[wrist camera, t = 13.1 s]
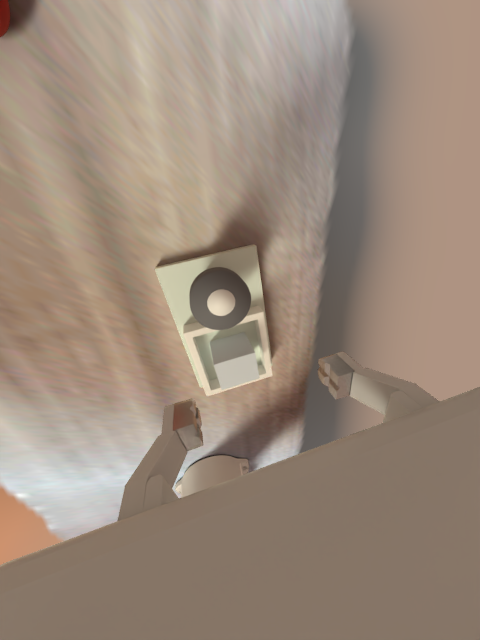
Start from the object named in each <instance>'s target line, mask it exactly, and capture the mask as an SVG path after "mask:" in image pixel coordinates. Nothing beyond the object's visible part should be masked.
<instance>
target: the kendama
mask: <svg viewBox="0 0 480 640" xmlns="http://www.w3.org/2000/svg"><path fill="white" fill-rule="evenodd" d="M9 23H10V9H9V3H8V0H0V37H2V36H3V35H4V34H5V33H6V31H7V30H8V27H9Z"/></svg>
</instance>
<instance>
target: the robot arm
mask: <svg viewBox="0 0 480 640" xmlns="http://www.w3.org/2000/svg"><path fill="white" fill-rule="evenodd" d="M318 364H319V366H320V368H319V369H318V376H319V379H320V380H321V382H322V383H323V385H325V386H327V387H329V392H330V393H331V394H332V395H333V397H334V398H335V399H336V400H337V399H340V398H343V397H346V396H350V397H352V398H354V399H356V400H358V401H360V402H361V403H363V404H365V405H367V406H369V407H371V408H373V409H375V410H376V411H378V412H380V413H382V414H384V415H385V417H384V420H383V423H381V424H379V425H376V426H373V427H371V428H368V429H365V430H363V431H360V432H357V433H355V434H352V435H349V436H347V437H344V438H341V439H339V440H336V441H333V442H330V443H328V444H325V445H322V446H319V447H317V448H314V449H311V450H309V451H306V452H303V453H301V454H298V455H295V456H292V457H290V458H287V459H284V460H282V461H279V462H276V463H274V464H271V465H268V466H266V467H263V468H260V469H258V470H255V471H252V472H250V473H248V467H249V463H248V459H237V458H234V457H231V456H226V455H219V456H212V457H208V458H205V459H203V460H200V461H198V462H196V463H195V464H193V465H192V466H191V467H189V468H188V469H187V471H186V472H185V474H184V476H183V478H182V479H181V480H180V481H178V482H177V483H176V485H175V490H176V491H177V492H178V493H180V494H181V498H180V499H179V498H178V497H177V495H176V494H175V492H174V491H173V490H172V487H173V485H174V482H175V480H176V478H177V475H178V473H179V471H180V468H181V466H182V464H183V461H184V459H185V457H186V454H187V451H189V450H192V449H195V448H197V447H200V446H203V436H202V431H201V429H200V428H201V426H202V424H201V417H200V413H199V410H198V408H197V407H196V402H195V400H194V398H192V399H189V400H185V401H182V402H178V403H175V404H172V405H168V406H165V408H164V415H163V425H162V434H161V435H160V436H158V437H157V439H156V440H155V442H154V443H153V445H152V446H151V448H150V449H149V451H148V452H147V454H146V455H145V457H144V458H143V460H142V461H141V463H140V464H139V466H138V467H137V469H136V470H135V472H134V473H133V475H132V476H131V478H130V479H129V481H128V482H127V484H126V485H125V489H124V494H123V499H122V503H121V508H120V512H119V517H118V521H117V522H115V523H112V524H109V525H107V526H104V527H101V528H99V529H96V530H93V531H90V532H88V533H85V534H82V535H80V536H77V537H74V538H72V539H69V540H66V541H63V542H61V543H58V544H55V545H53V546H50V547H47V548H45V549H42V550H39V551H37V552H34V553H31V554H28V555H26V556H23V557H20V558H17V559H14V560H12V561H9V562H7V563H4V564H2V565H0V640H480V387H478V388H475V389H473V390H470V391H467V392H465V393H462V394H459V395H457V396H454V397H451V398H449V399H446V400H443V401H438V400H437V399H436V398H434V397H433V396H431V395H430V394H429V393H427V392H426V391H425V390H423V389H422V388H420V387H419V386H418V385H417V384H414V383H411V382H408V381H405V380H402V379H399V378H396V377H393V376H390V375H387V374H383V373H381V372H378V371H375V370H371V369H368V368H363V367H361V366H360V365H359V364H358V363H357V362H356V361H355V360H353V359H352V358H351V357H350V356H349V355H348V354H346V353H345V352H339V353H336V354H333V355H329V356H326V357H323V358H320V359H319V360H318Z"/></svg>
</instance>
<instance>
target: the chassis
mask: <svg viewBox="0 0 480 640" xmlns="http://www.w3.org/2000/svg"><path fill="white" fill-rule="evenodd" d="M214 267H223V268H227V269H230V270H232V271H234V272H235V273H236V274H238V275H239V276H240V278H241V279H242V280H243V281H244V282H245V283H246V285H247V286H248V288H249V291H250V294H251V306H250V309H249V311H248V314H247V315H246V317H245V318H244V319H243V320H242V321H241V322H240V323H239V324H237V325H236V326H234V327H232V328H229V329H225V330H213V329H209V328H206V327H204V326H203V325H201V324H200V323H199V322H198V321H197V320H196V319H195V318H194V316H193V314H192V312H191V309H190V298H189V293H190V288H191V285H192V283H193V281H194V279H195V278H196V277H197V276H198V275H199V274H200V273H201V272H203V271H205V270H207V269H210V268H214ZM155 271H156V274H157V277H158V279H159V282H160V284H161V287H162V290H163V292H164V295H165V297H166V300H167V303H168V305H169V308H170V310H171V313H172V316H173V318H174V321H175V323H176V326H177V329H178V331H179V334H180V336H181V339H182V342H183V344H184V347H185V349H186V352H187V355H188V357H189V360H190V362H191V365H192V368H193V370H194V373H195V375H196V378H197V381H198V383H199V386H200V388H201V387H203V388H204V390H205V393H206V396H210V395H213V394H216V393H220V392H223V391H226V390H229V389H232V388H235V387H239V386H242V385H245V384H248V383H251V382H254V381H258V380H261V379H264V378H267V377H270V376H272V369H271V366H272V358H271V350H270V343H269V336H268V328H267V321H266V313H265V306H264V299H263V291H262V284H261V277H260V269H259V262H258V254H257V247H256V245H254V244H252V245H248V246H244V247H239V248H235V249H231V250H226V251H222V252H218V253H213V254H209V255H205V256H200V257H196V258H192V259H187V260H183V261H179V262H174V263H170V264H166V265H161V266H157V267H156V268H155ZM242 332H245V334H246V336H247V338H248V340H249V342H250V344H251V345H252V347H253V349H254V351H255V355H256V360H257V366H258V371H259V377H260V378H259V379H256V380H252V381H249V382H246V383H243V384H240V385H236V386H233V387H230V388H227V389H224V390H222V389H221V386H220V383H219V380H218V377H217V374H216V370H215V367H214V364H213V358H212V353H211V347H210V341H214V340H218V339H221V338H225V337H228V336H232V335H235V334H239V333H242Z"/></svg>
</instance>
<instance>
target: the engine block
mask: <svg viewBox="0 0 480 640" xmlns="http://www.w3.org/2000/svg"><path fill="white" fill-rule="evenodd" d="M210 347H211V353H212V358H213V364H214V367H215V370H216V374H217V377H218V380H219V383H220V386H221V389H222V390H224V389H227V388H230V387H233V386H236V385H240V384H243V383H246V382H249V381H252V380H256V379H259V378H260V377H259V371H258V366H257V360H256V355H255V351H254V349H253V347H252V345H251V344H250V342H249V340H248V338H247V336H246V334H245V332H242V333H239V334H235V335H232V336H228V337H225V338H221V339H218V340H214V341H210Z"/></svg>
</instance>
